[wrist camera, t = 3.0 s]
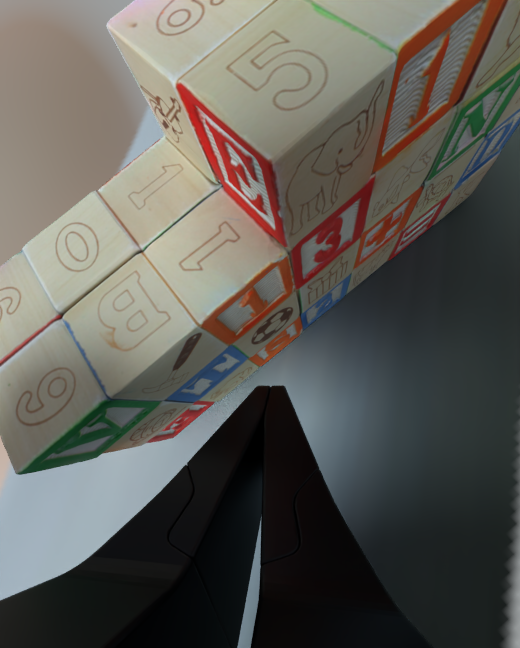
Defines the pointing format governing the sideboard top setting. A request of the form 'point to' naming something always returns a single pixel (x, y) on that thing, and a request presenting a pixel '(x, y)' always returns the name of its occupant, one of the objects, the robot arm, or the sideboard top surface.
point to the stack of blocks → (245, 204)
